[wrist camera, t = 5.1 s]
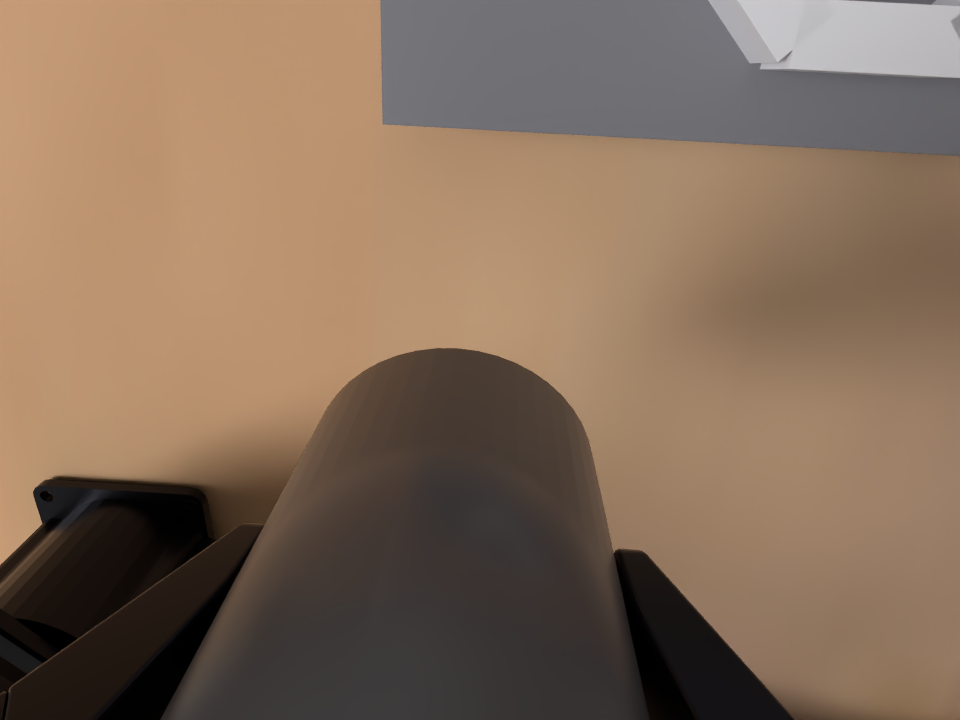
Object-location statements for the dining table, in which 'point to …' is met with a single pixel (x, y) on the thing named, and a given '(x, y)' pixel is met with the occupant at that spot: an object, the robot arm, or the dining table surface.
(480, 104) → the octagon ring plate
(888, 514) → the dining table surface
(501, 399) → the lens
